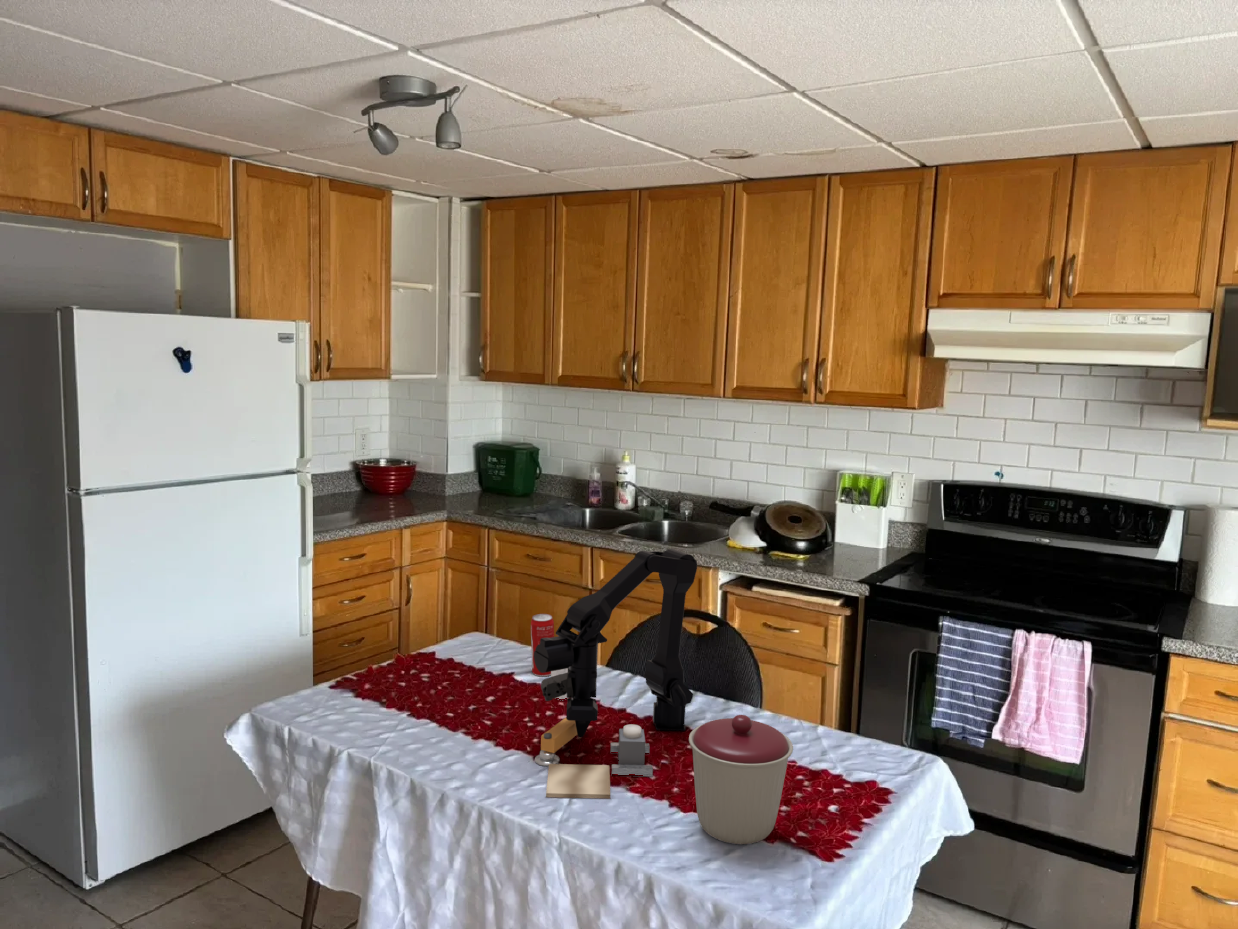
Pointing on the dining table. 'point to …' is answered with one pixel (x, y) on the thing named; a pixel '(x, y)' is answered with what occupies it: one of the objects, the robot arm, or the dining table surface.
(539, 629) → the beverage can
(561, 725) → the latch
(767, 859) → the dining table surface
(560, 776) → the board
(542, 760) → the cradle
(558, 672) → the white angled block
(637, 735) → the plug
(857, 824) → the dining table surface
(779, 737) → the canister
